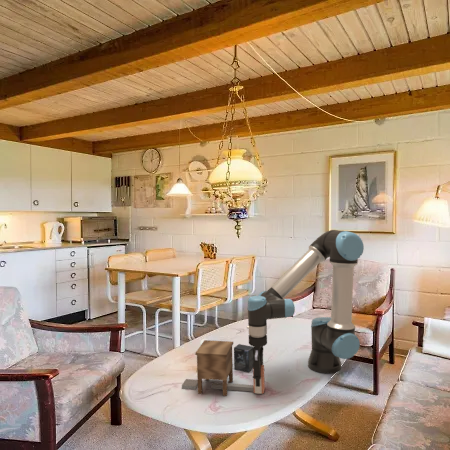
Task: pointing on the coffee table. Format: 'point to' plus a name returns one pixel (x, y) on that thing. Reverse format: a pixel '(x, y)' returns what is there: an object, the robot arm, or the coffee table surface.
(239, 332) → the coffee table surface
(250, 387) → the orange-headed mallet
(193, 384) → the token
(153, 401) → the coffee table surface
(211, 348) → the cabinet
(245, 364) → the box
